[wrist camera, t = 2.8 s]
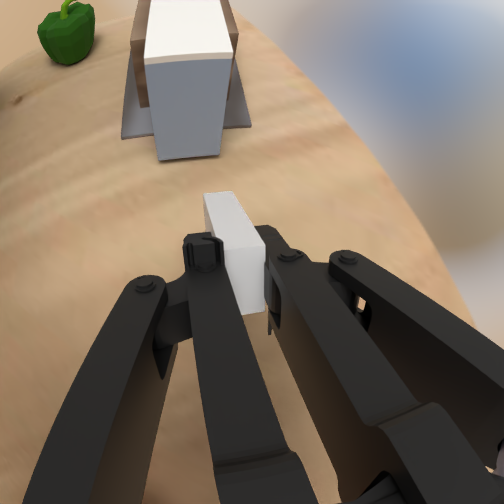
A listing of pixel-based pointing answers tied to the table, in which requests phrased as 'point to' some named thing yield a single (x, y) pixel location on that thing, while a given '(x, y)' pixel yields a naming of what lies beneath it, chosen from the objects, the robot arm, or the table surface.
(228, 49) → the white box
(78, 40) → the bell pepper
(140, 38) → the housing
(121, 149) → the table surface
